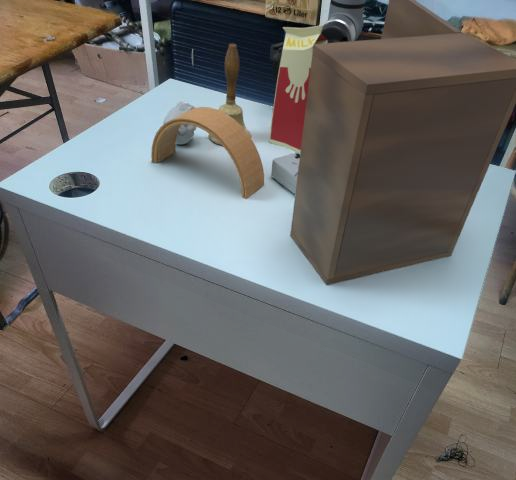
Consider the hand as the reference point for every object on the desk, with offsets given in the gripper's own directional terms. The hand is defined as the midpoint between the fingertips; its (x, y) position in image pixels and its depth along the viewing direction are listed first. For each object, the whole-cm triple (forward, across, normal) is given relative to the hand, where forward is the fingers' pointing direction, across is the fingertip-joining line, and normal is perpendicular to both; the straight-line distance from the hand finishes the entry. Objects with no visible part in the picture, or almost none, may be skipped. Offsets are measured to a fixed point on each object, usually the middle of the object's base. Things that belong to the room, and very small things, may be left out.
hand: (310, 74), depth 92 cm
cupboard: (+33, -19, -10) cm, 40 cm away
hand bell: (+9, +12, -11) cm, 18 cm away
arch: (+23, +11, -11) cm, 28 cm away
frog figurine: (+15, +20, -11) cm, 27 cm away
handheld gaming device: (+17, -7, -11) cm, 22 cm away
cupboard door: (+11, -20, -10) cm, 25 cm away
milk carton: (+4, 0, -11) cm, 12 cm away
